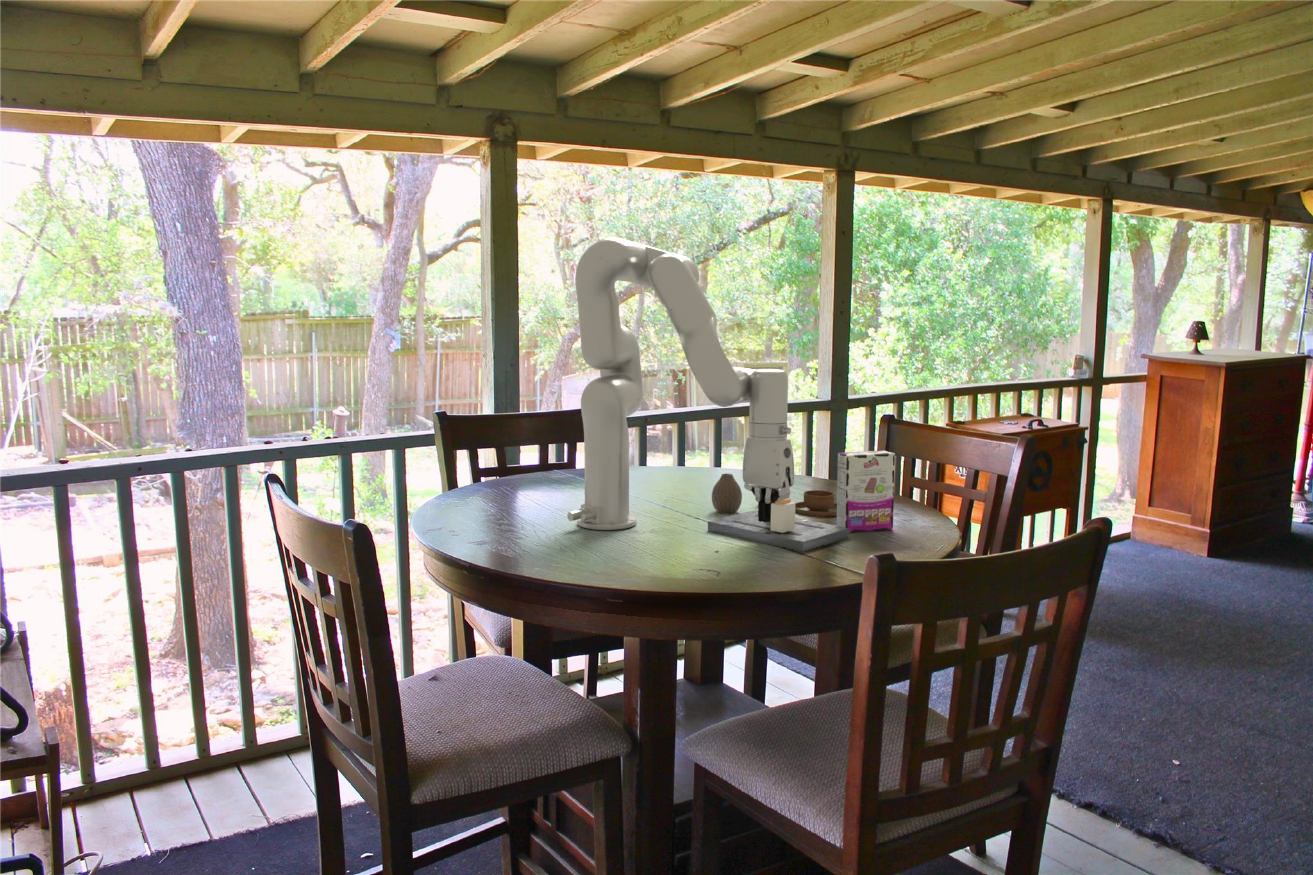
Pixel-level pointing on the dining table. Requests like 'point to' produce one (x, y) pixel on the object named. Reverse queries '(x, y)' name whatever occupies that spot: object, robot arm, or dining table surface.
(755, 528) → the console
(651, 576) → the dining table surface
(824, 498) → the place setting
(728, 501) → the vase
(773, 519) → the ivory fader
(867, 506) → the candy bar box
